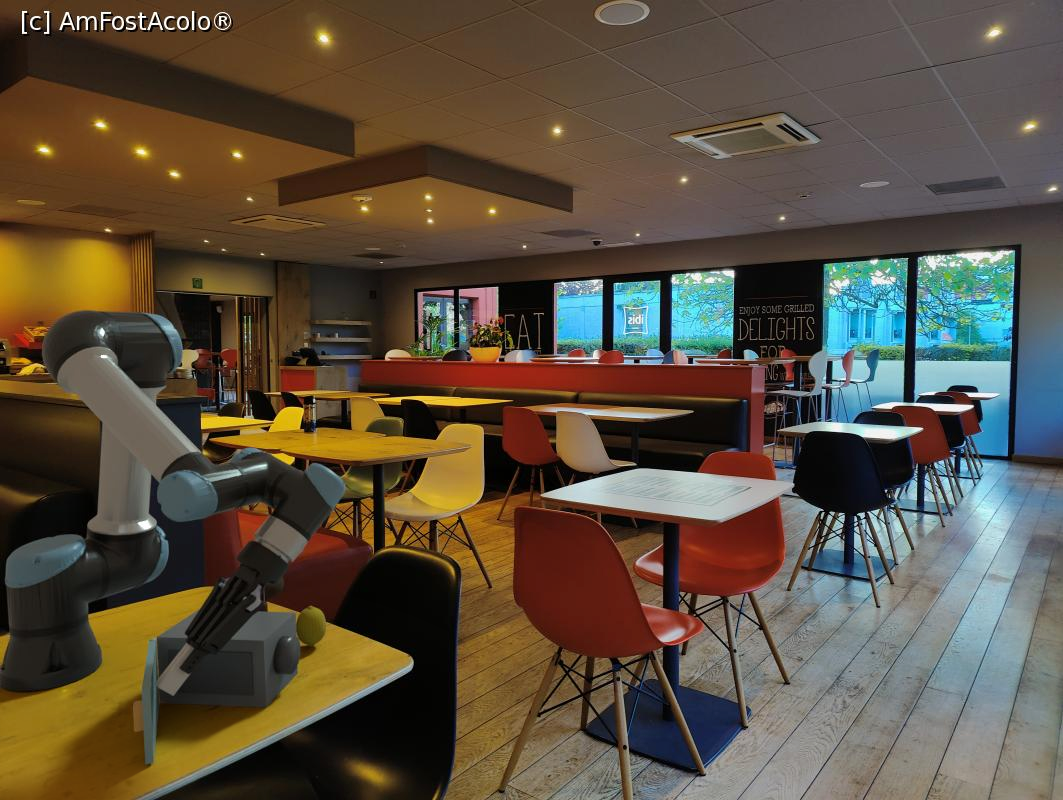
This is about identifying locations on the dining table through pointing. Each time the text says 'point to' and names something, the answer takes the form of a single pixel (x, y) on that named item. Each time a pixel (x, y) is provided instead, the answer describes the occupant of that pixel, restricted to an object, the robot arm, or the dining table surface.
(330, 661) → the dining table surface
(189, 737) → the dining table surface
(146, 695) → the side door
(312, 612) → the lemon
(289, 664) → the case
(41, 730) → the dining table surface
